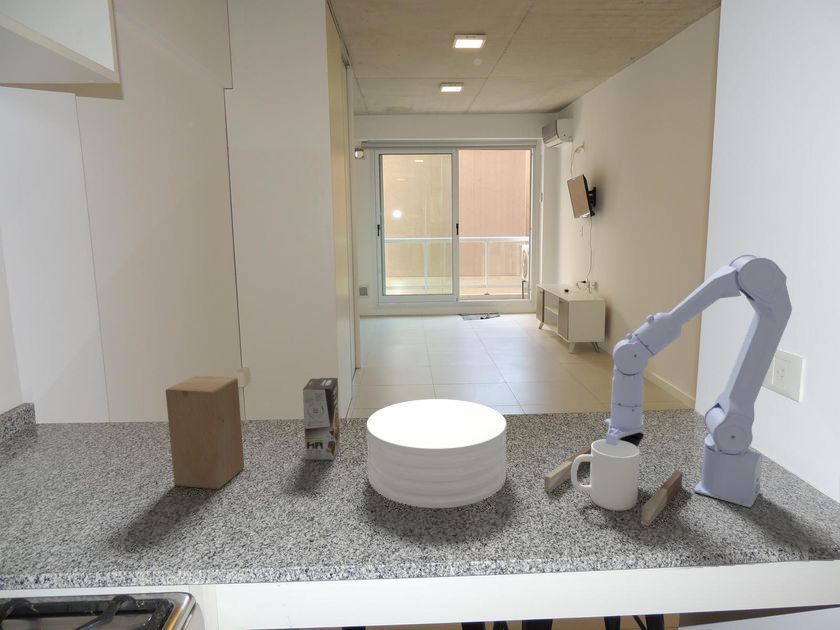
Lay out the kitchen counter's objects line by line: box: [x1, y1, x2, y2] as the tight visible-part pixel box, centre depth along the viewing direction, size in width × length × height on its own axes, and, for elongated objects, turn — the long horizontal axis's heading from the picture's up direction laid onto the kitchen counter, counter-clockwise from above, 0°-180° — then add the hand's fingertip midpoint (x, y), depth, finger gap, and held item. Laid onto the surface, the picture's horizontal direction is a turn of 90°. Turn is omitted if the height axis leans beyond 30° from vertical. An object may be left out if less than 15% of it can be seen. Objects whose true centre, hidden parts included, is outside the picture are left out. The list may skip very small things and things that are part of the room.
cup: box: [570, 438, 641, 512], centre depth 101 cm, size 8×12×10 cm
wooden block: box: [165, 375, 245, 490], centre depth 112 cm, size 10×10×20 cm
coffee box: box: [302, 377, 341, 461], centre depth 124 cm, size 9×6×16 cm
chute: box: [543, 446, 684, 527], centre depth 105 cm, size 19×18×3 cm
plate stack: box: [366, 398, 507, 509], centre depth 113 cm, size 28×28×12 cm
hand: (623, 468), depth 109 cm, fingers closed
